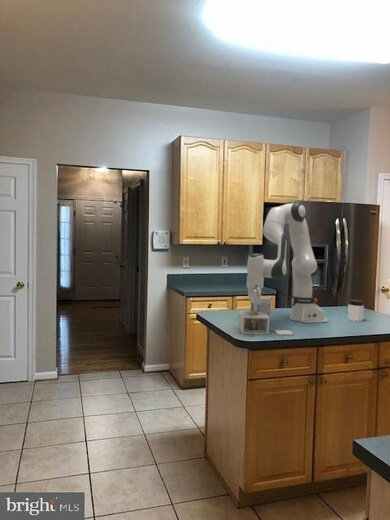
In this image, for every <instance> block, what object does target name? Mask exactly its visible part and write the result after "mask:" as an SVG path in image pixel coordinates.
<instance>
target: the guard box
mask: <svg viewBox="0 0 390 520" xmlns="http://www.w3.org/2000/svg"><path fill="white" fill-rule="evenodd" d="M250 318H257V330H250ZM269 320H270V321H271V316H270V317H269V316H268V315H267V314H266V313H265V312H257V315H250V311H249V310H246V311H243V310H241V311H239V312H238V328H239V331H240V332H241V334H248V335H249V334H250V335H251V334H252V335H253V334H254V335H269V334H270V323H269Z"/></svg>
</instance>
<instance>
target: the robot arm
mask: <svg viewBox="0 0 390 520" xmlns="http://www.w3.org/2000/svg"><path fill="white" fill-rule="evenodd" d="M306 216H307V210H306V207H305V205H304V204H303V203H302V202H293V203H285V204H283V205H280V206H274V207H272V208H270V210H269V211H268V213H267V215H266V218H265V221H264V225H263V230H262V233H263V237H265V239H267V240H269V242H271V243H274V244H276V245H277V258H276V259H266V258H264V254H262V253H259V252H257V253H251V254H249V255H248V258H247V264H246V265H247V266H246V270H247V276H246V288H247V295H248V297H247V298H248V300H250V302H251V301H252V303H253V311H257V306H258V305H260V304H261V296H262V289H264V280H265V278H269V279H275V280H281V279H283V278H285V276H286V274H287V271H288V269H287V268H288V267H287V256H288V237H287V235H286V234H285V233H284V229H285V225H286V224H288V232H289V238H290V245H291V248H292V252H293V254H294V257H293V259H292V261H291V266H292V279H293V290H292V291H293V292H292V297H291V305H292V307H291V312H290V316H289V320H292V321H295V322H301V323H304V324H305V323H307V324H308V323H310V324H311V323H315V324H316V323H328V322H329V319H328V318H327V317H326V316H325V312H324V310H323V308H321V307H320V306H319V305H317V303H316V302H318V298H315V297H313V285H314V284H313V282H312V274H313V273H315V272H316V271H317V269H318V263H317V260H316V258H315V255H314V250H313V247H312V244H311V238H310V233H309V232H310V231H309V227H308V223H307V220H306Z"/></svg>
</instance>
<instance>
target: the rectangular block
mask: <svg viewBox="0 0 390 520" xmlns="http://www.w3.org/2000/svg"><path fill="white" fill-rule="evenodd" d="M249 312H250V315H257V311H253V303H252V301H251V300H250V311H249ZM250 321H251V322H257V318H250Z"/></svg>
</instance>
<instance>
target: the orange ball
mask: <svg viewBox="0 0 390 520" xmlns="http://www.w3.org/2000/svg"><path fill="white" fill-rule="evenodd" d="M250 330H257V322H251V321H250Z"/></svg>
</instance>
